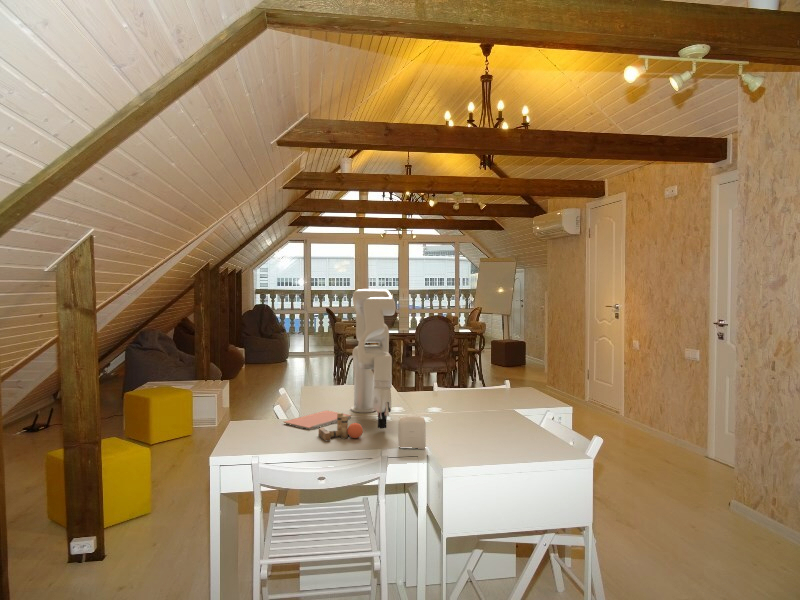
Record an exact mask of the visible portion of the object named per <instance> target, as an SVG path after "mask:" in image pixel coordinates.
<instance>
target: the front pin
mask: <svg viewBox="0 0 800 600" xmlns="http://www.w3.org/2000/svg"><path fill="white" fill-rule="evenodd" d="M341 431H342V430H337V429H336V430H329V431H328V432H330V438H338V436H339V437H341ZM348 435H349V434H348Z"/></svg>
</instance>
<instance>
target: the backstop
mask: <svg viewBox="0 0 800 600" xmlns="http://www.w3.org/2000/svg"><path fill="white" fill-rule="evenodd" d="M318 436H319V437H320V436H321V437H322V438H323V439H324V440H330V441H331V437H330V432H329V431H328V430H327V428H325V427H320V428H318ZM321 437H320V438H321ZM322 438H321V439H322ZM323 439H322V440H323ZM324 440H323V441H324Z"/></svg>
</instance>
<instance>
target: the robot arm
mask: <svg viewBox="0 0 800 600" xmlns="http://www.w3.org/2000/svg"><path fill="white" fill-rule="evenodd" d="M352 303H353V307H354V310H355V314H356V318H355V319H356V320H355V321H356V323H355V324H356V325H355V326H356V327H355V336H356V340H357V342H358V344H357V346H355V347H353V349H352V362H353V379H354V380H353V381H354V382H353V386H354V387H353V405H352V406H351V407H350V411H351V412H353V413H359V414H360V413H362V414H363V413H364V414H365V413H373V412H376V413H377V428H378V429H387V419H388V417H389V416H390V412H391V411H392V391H391V389H392V388H393V387H392V386H393V385H392V383H393V379H392V378H393V375H392V370H393V357H392V355H391V353H389V351H390V350H389V349H390V348H389V346H390V345H389V343H390V331H389V327H388V325H387V324H386V323H385V318H384V317H385V316H387V317H388V316H389V317H390V316H393V315H395V313H396V302H395V299H394V297H393V295H392V294H391V292H390V291H389V290H388V289H385V288H384V289H381V288H380V289H379V288H375V289H372V288H362V289H357V290H355V291H354V292H353V294H352ZM366 343H367V344H366ZM368 343H370V344H368ZM371 343H373V344H371ZM374 343H378V344H374Z"/></svg>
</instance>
